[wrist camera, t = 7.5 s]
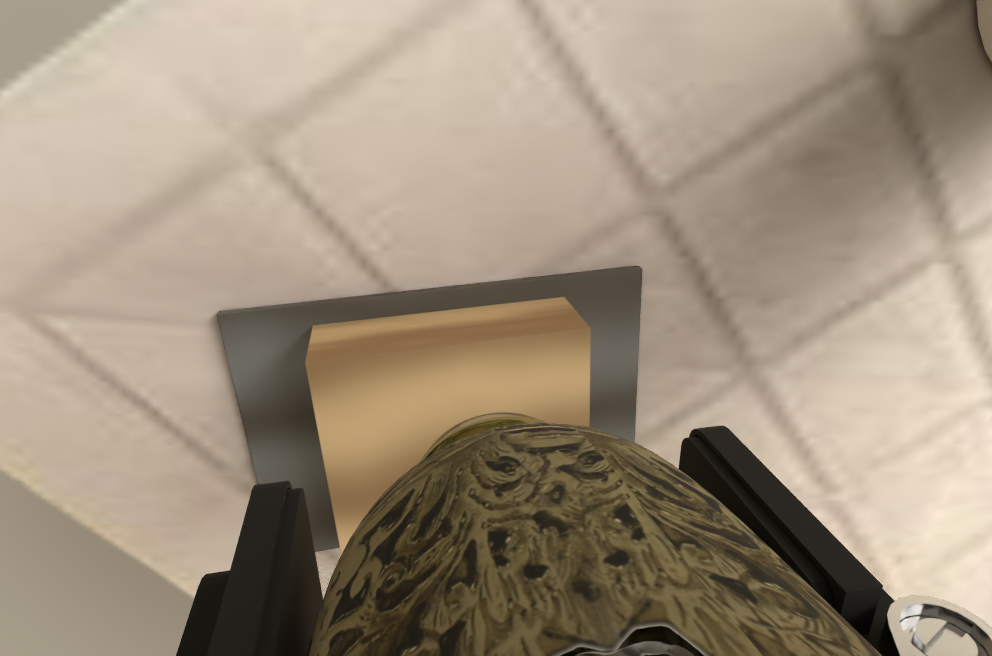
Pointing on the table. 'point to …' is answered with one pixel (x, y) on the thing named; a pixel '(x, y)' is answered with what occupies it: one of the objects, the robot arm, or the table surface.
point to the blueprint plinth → (289, 389)
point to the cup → (563, 559)
